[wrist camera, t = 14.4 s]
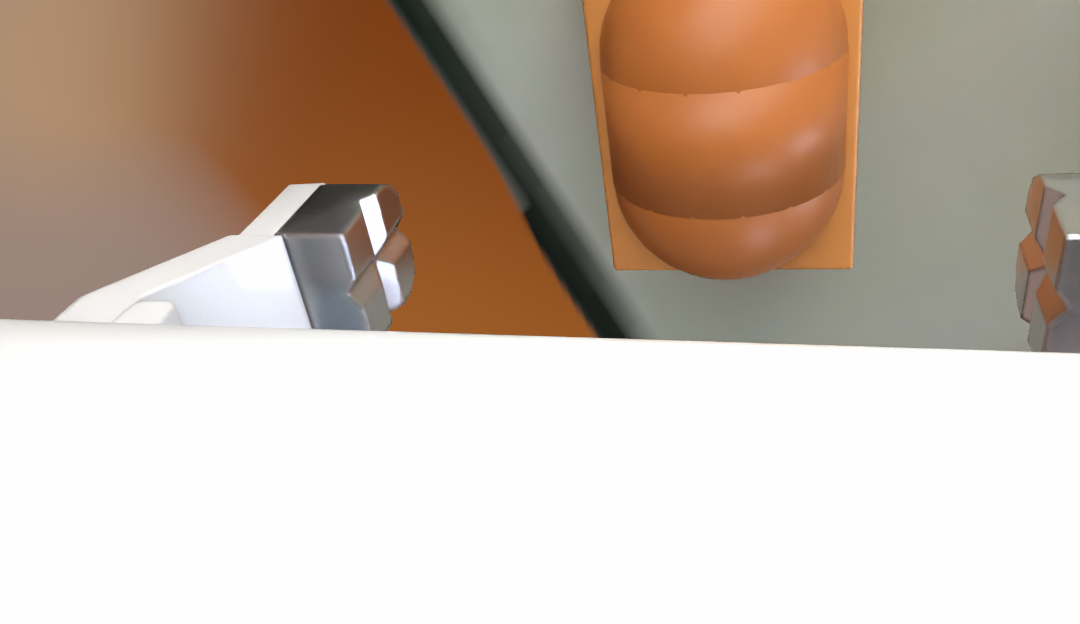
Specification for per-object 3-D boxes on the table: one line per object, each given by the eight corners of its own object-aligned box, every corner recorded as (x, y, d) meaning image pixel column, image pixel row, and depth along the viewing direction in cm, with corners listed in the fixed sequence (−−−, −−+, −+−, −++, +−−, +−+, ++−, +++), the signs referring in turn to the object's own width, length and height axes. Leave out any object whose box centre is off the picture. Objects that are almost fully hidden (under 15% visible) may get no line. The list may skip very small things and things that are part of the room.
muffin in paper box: (635, -133, 23) (549, -32, 15) (850, -159, 22) (874, -65, 14) (657, 135, 27) (597, 322, 19) (842, 127, 25) (857, 325, 18)
